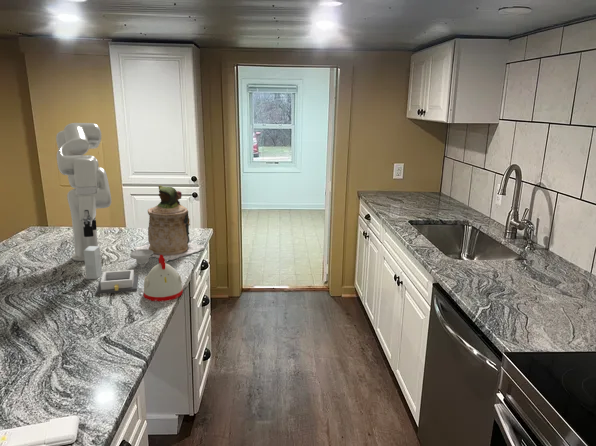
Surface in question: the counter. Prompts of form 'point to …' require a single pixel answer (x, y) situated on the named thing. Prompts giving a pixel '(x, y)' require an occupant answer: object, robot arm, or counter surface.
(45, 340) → the counter surface
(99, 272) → the skincare box
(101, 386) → the counter surface
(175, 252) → the cookie jar
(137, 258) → the showerhead
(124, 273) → the socket
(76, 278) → the counter surface
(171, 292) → the kitchen timer
